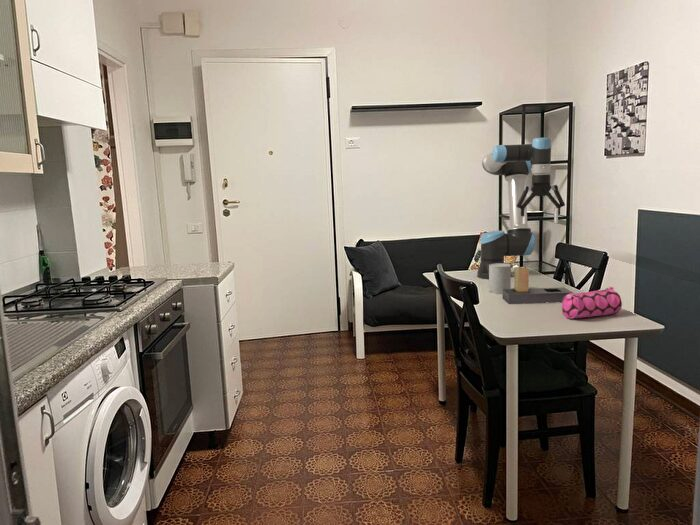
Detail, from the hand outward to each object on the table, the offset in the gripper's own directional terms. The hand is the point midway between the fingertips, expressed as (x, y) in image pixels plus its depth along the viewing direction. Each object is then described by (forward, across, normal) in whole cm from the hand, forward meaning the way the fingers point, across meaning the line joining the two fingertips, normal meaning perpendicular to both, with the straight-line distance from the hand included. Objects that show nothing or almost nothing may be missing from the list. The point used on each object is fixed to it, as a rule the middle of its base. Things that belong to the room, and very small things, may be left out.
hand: (540, 223), depth 234 cm
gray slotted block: (+30, -6, -16) cm, 35 cm away
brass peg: (+31, -12, -16) cm, 37 cm away
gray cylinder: (+31, -17, +2) cm, 35 cm away
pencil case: (+31, +6, -42) cm, 52 cm away
